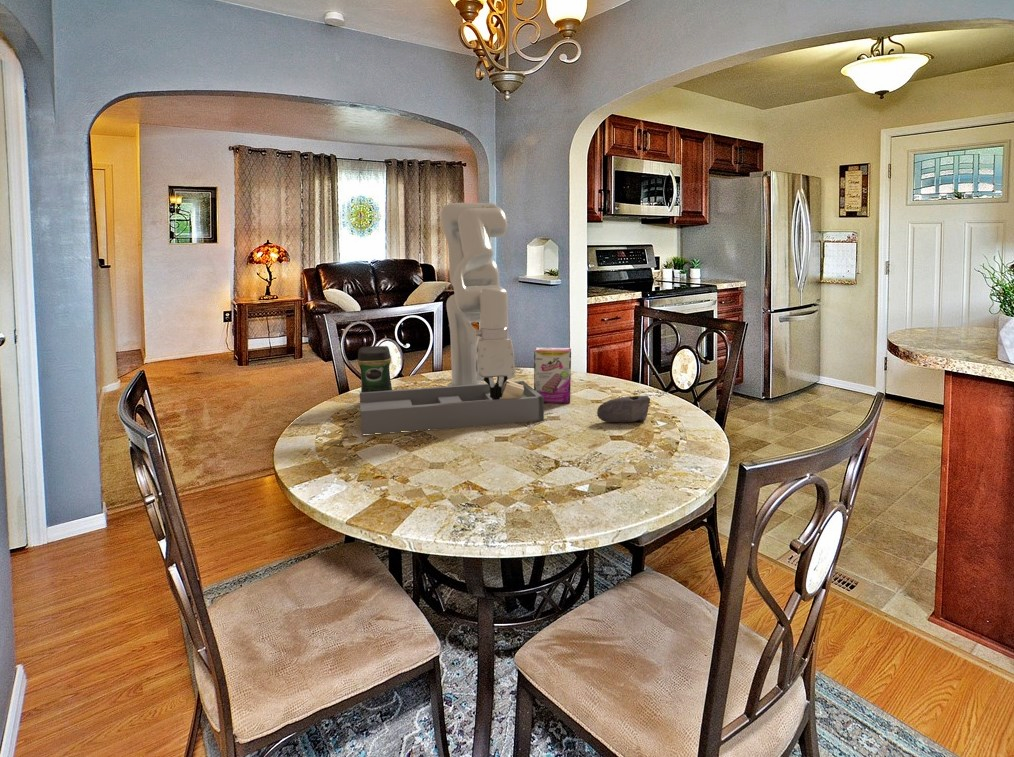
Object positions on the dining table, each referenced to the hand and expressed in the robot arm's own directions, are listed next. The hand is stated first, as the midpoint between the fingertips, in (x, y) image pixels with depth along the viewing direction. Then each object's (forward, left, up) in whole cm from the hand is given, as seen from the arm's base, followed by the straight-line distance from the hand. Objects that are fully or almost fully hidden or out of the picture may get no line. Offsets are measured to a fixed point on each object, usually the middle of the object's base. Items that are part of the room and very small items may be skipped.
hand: (495, 399), depth 172 cm
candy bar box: (-13, +20, -6) cm, 25 cm away
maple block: (+1, +3, 0) cm, 4 cm away
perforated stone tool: (+13, +32, -6) cm, 35 cm away
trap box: (-5, -13, -5) cm, 14 cm away
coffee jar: (-22, -32, -6) cm, 39 cm away
